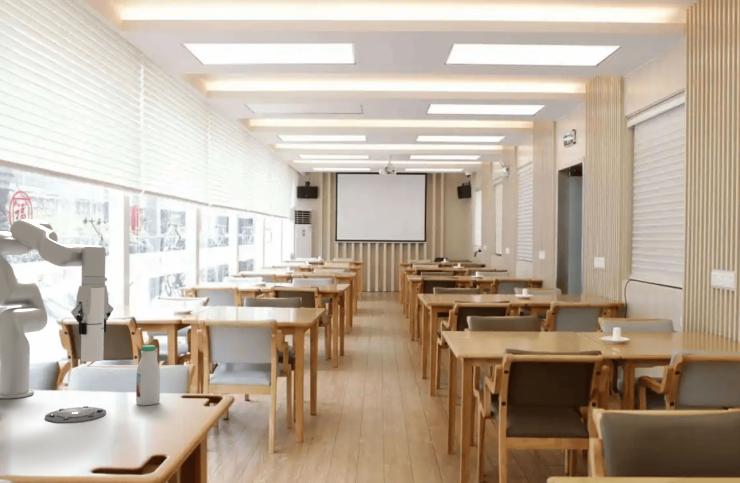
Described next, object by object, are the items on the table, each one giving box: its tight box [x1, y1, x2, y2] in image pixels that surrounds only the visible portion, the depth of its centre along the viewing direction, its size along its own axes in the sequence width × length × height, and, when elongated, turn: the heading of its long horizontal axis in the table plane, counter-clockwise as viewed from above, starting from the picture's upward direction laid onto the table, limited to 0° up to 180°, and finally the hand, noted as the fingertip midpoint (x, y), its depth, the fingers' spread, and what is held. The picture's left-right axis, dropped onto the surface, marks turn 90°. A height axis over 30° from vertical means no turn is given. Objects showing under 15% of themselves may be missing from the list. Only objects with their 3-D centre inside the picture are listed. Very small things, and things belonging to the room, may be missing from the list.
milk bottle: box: [135, 344, 161, 406], centre depth 235 cm, size 8×8×20 cm
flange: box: [44, 405, 107, 424], centre depth 217 cm, size 18×18×1 cm
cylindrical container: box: [80, 287, 105, 363], centre depth 233 cm, size 7×7×25 cm
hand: (92, 332), depth 233 cm, fingers closed on cylindrical container, 7 cm apart
